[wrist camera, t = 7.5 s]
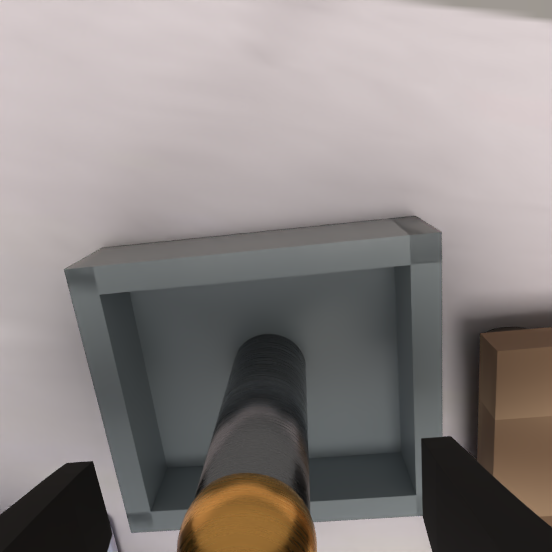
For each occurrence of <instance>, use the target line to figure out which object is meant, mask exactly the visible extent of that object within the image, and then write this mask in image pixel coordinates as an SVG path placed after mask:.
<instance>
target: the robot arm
mask: <svg viewBox="0 0 552 552" xmlns="http://www.w3.org/2000/svg"><path fill="white" fill-rule="evenodd" d="M421 459H422V509H423V519H424V523H425V526H426V530H427V534H428V538H429V541H430V545H431V548H432V552H552V527H551V526H550V525H549V524H547V523H546V522H545V521H544V520H543V519H541V518H540V517H539V516H538V515H537V514H535V513H534V512H533V511H532V510H531V509H530V508H529V507H527V506H526V505H525V504H524V503H523V502H522V501H520V500H519V499H518V498H517V497H516V496H515V495H514V494H512V493H511V492H510V491H509V490H508V489H507V488H506V487H505V486H504V485H502V484H501V483H500V482H499V481H498V480H497V479H496V478H495V477H494V476H493V475H492V474H490V473H489V472H488V471H487V470H486V469H485V468H484V467H483V466H482V465H481V464H480V463H479V462H478V461H477V460H475V459H474V458H473V457H472V456H471V455H470V454H469V453H468V452H467V451H466V450H465V449H464V448H463V447H462V446H461V445H460V444H459V443H457V442H456V441H455V440H454V439H453V438H452V437H451V436H447V437H433V438H421ZM0 552H118V550H117V546H116V542H115V538H114V535H113V531H112V528H111V526H110V523H109V519H108V515H107V512H106V508H105V504H104V500H103V497H102V493H101V489H100V486H99V482H98V478H97V475H96V471H95V467H94V464H93V461H90V462H76V463H66V464H65V465H63V466H62V467H61V468H59V469H58V470H56V471H55V472H54V473H52V474H51V475H50V476H48V477H47V478H46V479H45V480H43V481H42V482H41V483H40V484H38V485H37V486H36V487H34V488H33V489H32V490H31V491H30V492H28V493H27V494H26V495H25V496H23V497H22V498H21V499H20V500H18V501H17V502H16V503H15V504H13V505H12V506H11V507H10V508H8V509H7V510H6V511H5V512H3V513H2V514H1V515H0Z"/></svg>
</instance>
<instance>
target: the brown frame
mask: <svg viewBox="0 0 552 552" xmlns="http://www.w3.org/2000/svg"><path fill="white" fill-rule="evenodd" d="M477 461H478V462H479V463H480V464H481V465H482V466H483V467H484V468H485V469H486V470H487V471H488V472H489V473H490V474H492V475H493V476H494V477H495V478H496V479H497V480H498V481H499V482H500V483H501V484H502V485H504V486H505V487H506V488H507V489H508V490H509V491H510V492H511V493H512V494H514V495H515V496H516V497H517V498H518V499H519V500H520V501H522V502H523V503H524V504H525V505H526V506H527V507H529V508H530V509H531V510H532V511H533V512H534V513H535V514H537V515H538V516H539V517H540V518H541V519H543V520H544V521H545V522H546V523H547V524H549V525H550V526H551V527H552V327H548V328H536V329H527V328H519V327H504V328H497V329H493V330H490V331H488V332H487V333H480V359H479V404H478V449H477Z"/></svg>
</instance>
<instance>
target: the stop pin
mask: <svg viewBox="0 0 552 552" xmlns="http://www.w3.org/2000/svg"><path fill="white" fill-rule="evenodd" d="M177 552H317V541H316V532H315V528H314V524H313V520H312V517H311V515H310V483H309V451H308V418H307V386H306V362H305V358H304V355H303V353H302V351H301V350H300V349H299V347H298V346H297V345H296V344H295V343H294V342H292V341H291V340H289V339H288V338H285V337H283V336H280V335H276V334H262V335H258V336H255V337H253V338H251V339H249V340H247V341H246V342H245V343H244V344H243V345H242V346H241V347H240V348H239V350H238V351H237V353H236V356H235V359H234V363H233V366H232V370H231V373H230V377H229V380H228V384H227V387H226V390H225V394H224V397H223V401H222V404H221V408H220V411H219V415H218V418H217V422H216V425H215V429H214V432H213V436H212V439H211V443H210V446H209V450H208V453H207V457H206V460H205V463H204V467H203V470H202V474H201V477H200V481H199V484H198V488H197V491H196V495H195V498H194V500H193V502H192V503H191V505H190V507H189V509H188V510H187V512H186V514H185V517H184V519H183V522H182V525H181V528H180V532H179V537H178V543H177Z"/></svg>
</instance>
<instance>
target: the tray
mask: <svg viewBox="0 0 552 552" xmlns="http://www.w3.org/2000/svg"><path fill="white" fill-rule="evenodd" d="M64 272H65V275H66V279H67V283H68V287H69V291H70V295H71V299H72V303H73V307H74V311H75V315H76V318H77V322H78V326H79V330H80V334H81V338H82V342H83V346H84V350H85V354H86V358H87V362H88V365H89V369H90V373H91V377H92V381H93V385H94V389H95V393H96V397H97V401H98V405H99V408H100V412H101V416H102V420H103V424H104V428H105V432H106V436H107V440H108V444H109V448H110V452H111V455H112V459H113V463H114V467H115V471H116V475H117V479H118V483H119V487H120V491H121V495H122V498H123V502H124V506H125V510H126V514H127V518H128V522H129V526H130V530H131V533H137V532H154V531H171V530H180V528H181V525H182V522H183V519H184V517H185V514H186V512H187V510H188V509H189V507H190V505H191V503H192V502H193V500H194V498H195V495H196V491H197V488H198V484H199V481H200V477H201V474H202V470H203V467H204V463H205V460H206V457H207V453H208V450H209V446H210V443H211V439H212V436H213V432H214V429H215V425H216V422H217V418H218V415H219V411H220V408H221V404H222V401H223V397H224V394H225V390H226V387H227V384H228V380H229V377H230V373H231V370H232V366H233V363H234V359H235V356H236V353H237V351H238V350H239V348H240V347H241V346H242V345H243V344H244V343H245V342H246V341H247V340H249V339H251V338H253V337H255V336H258V335H262V334H276V335H280V336H283V337H285V338H288V339H289V340H291V341H292V342H294V343H295V344H296V345H297V346H298V347H299V349H300V350H301V351H302V353H303V355H304V358H305V362H306V386H307V418H308V451H309V483H310V515H311V517H312V520H313V522H324V521H341V520H358V519H375V518H392V517H409V516H423V509H422V459H421V438H433V437H442V232H441V231H439V230H438V229H436V228H434V227H433V226H431V225H429V224H428V223H426V222H425V221H423V220H421V219H420V218H418V217H416V216H411V217H401V218H391V219H382V220H372V221H362V222H352V223H342V224H333V225H323V226H313V227H303V228H293V229H284V230H274V231H264V232H254V233H244V234H235V235H225V236H215V237H205V238H195V239H186V240H176V241H166V242H156V243H146V244H137V245H127V246H117V247H107V248H101V249H99V250H97V251H96V252H94V253H92V254H90V255H89V256H87V257H85V258H83V259H82V260H80V261H78V262H76V263H74V264H73V265H71V266H69V267H67V268H66V269H64Z"/></svg>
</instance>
